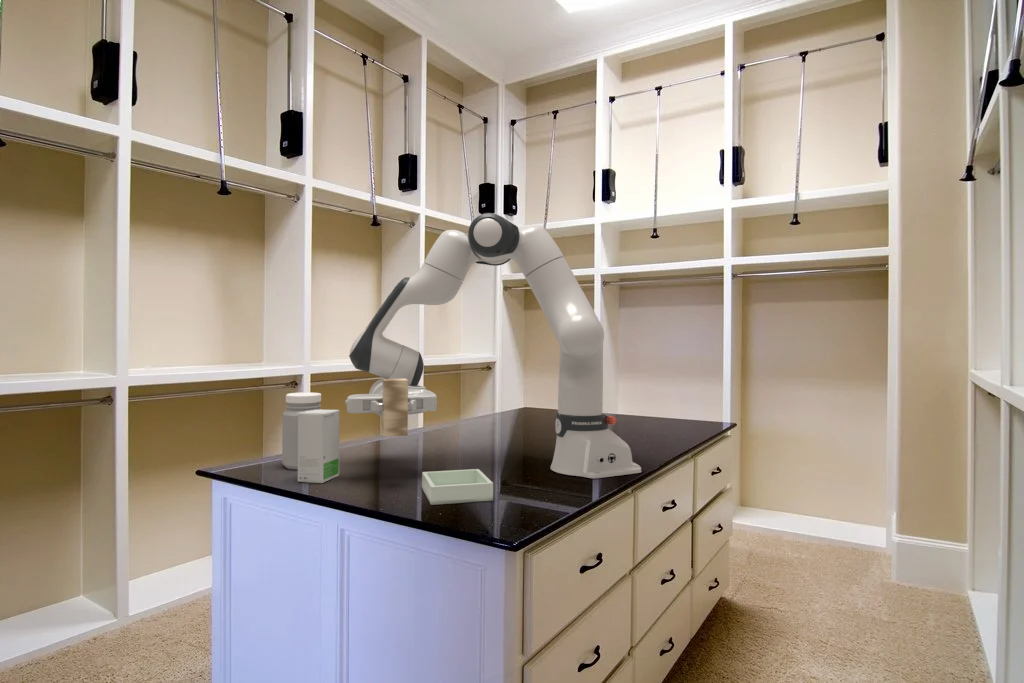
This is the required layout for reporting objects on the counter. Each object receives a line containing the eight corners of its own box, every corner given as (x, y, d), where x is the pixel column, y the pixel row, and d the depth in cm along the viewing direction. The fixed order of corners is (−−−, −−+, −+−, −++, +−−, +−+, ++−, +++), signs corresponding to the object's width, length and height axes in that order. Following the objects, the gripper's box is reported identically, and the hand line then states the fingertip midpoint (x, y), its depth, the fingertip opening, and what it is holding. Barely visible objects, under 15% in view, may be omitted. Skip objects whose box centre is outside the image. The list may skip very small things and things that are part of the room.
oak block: (404, 431, 131) (405, 378, 131) (407, 435, 126) (408, 380, 126) (382, 432, 129) (382, 378, 129) (384, 436, 125) (384, 380, 125)
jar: (291, 461, 150) (292, 391, 150) (329, 462, 150) (329, 392, 150) (275, 470, 140) (275, 395, 140) (315, 470, 140) (315, 396, 140)
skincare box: (321, 484, 128) (322, 413, 128) (294, 482, 129) (295, 412, 129) (340, 475, 136) (341, 409, 136) (314, 473, 138) (315, 407, 137)
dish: (478, 484, 130) (478, 468, 130) (493, 500, 118) (493, 483, 118) (421, 488, 126) (422, 472, 126) (431, 504, 114) (431, 487, 114)
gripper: (344, 387, 137) (346, 393, 124) (431, 386, 143) (441, 391, 130) (344, 414, 137) (345, 423, 124) (431, 411, 143) (441, 419, 130)
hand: (395, 407), depth 127 cm, fingers closed on oak block, 5 cm apart
